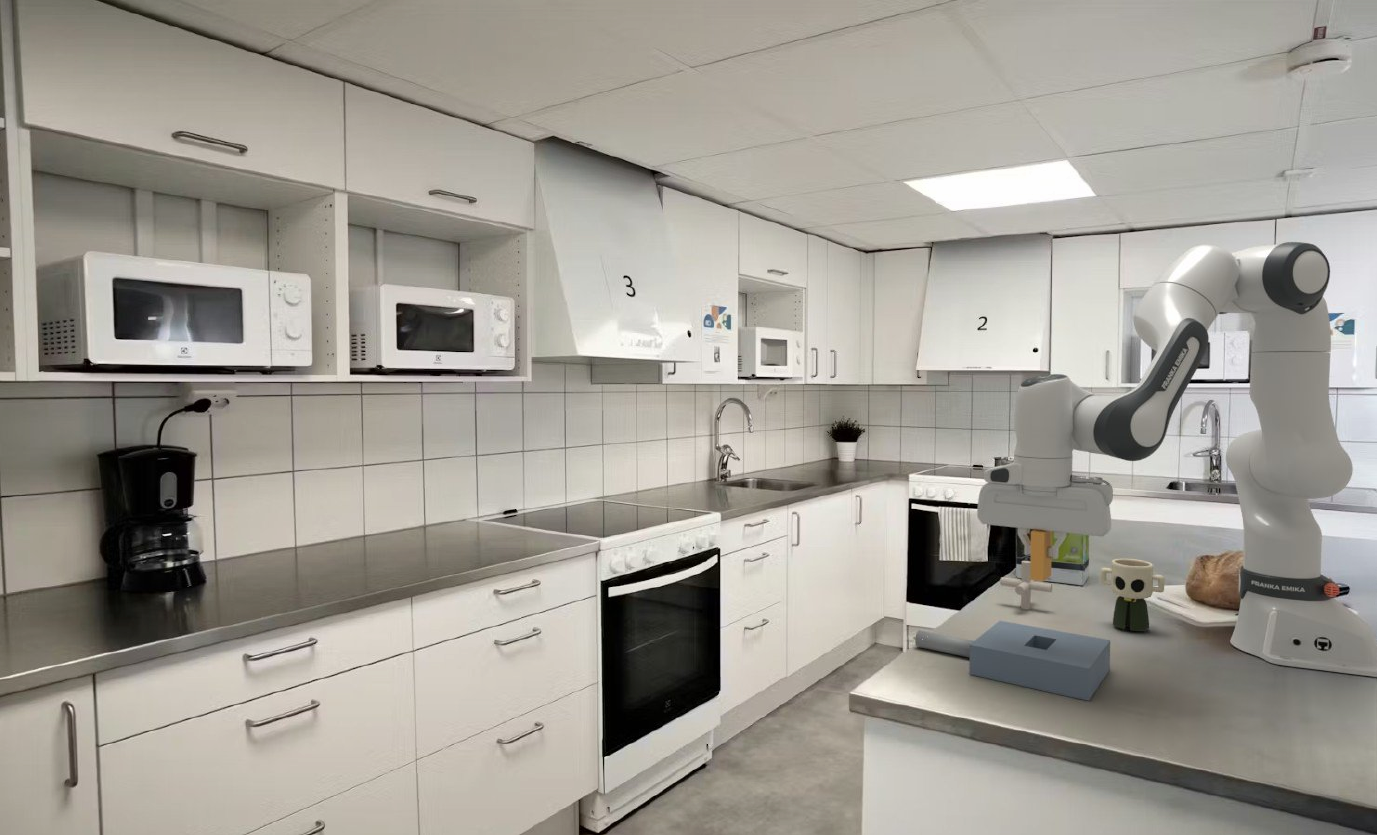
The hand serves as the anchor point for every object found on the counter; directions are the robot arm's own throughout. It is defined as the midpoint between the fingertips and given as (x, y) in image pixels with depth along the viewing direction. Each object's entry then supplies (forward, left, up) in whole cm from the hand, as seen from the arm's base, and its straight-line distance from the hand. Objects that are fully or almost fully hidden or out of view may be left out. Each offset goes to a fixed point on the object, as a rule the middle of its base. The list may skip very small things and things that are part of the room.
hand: (1041, 556), depth 131 cm
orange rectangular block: (0, 0, -4) cm, 4 cm away
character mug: (-8, -34, -20) cm, 40 cm away
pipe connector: (+12, -36, -20) cm, 43 cm away
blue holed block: (+6, 0, -19) cm, 20 cm away
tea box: (+14, -66, -20) cm, 70 cm away
